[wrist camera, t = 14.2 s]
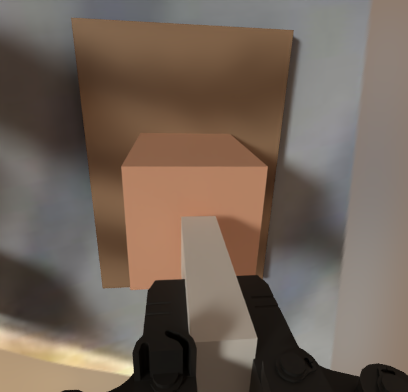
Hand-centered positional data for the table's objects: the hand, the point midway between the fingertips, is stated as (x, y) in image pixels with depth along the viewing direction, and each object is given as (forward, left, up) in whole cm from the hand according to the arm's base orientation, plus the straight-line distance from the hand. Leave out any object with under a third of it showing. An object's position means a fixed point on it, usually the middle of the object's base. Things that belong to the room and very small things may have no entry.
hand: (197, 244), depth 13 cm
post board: (0, 0, -11) cm, 11 cm away
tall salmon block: (0, 0, -10) cm, 10 cm away
